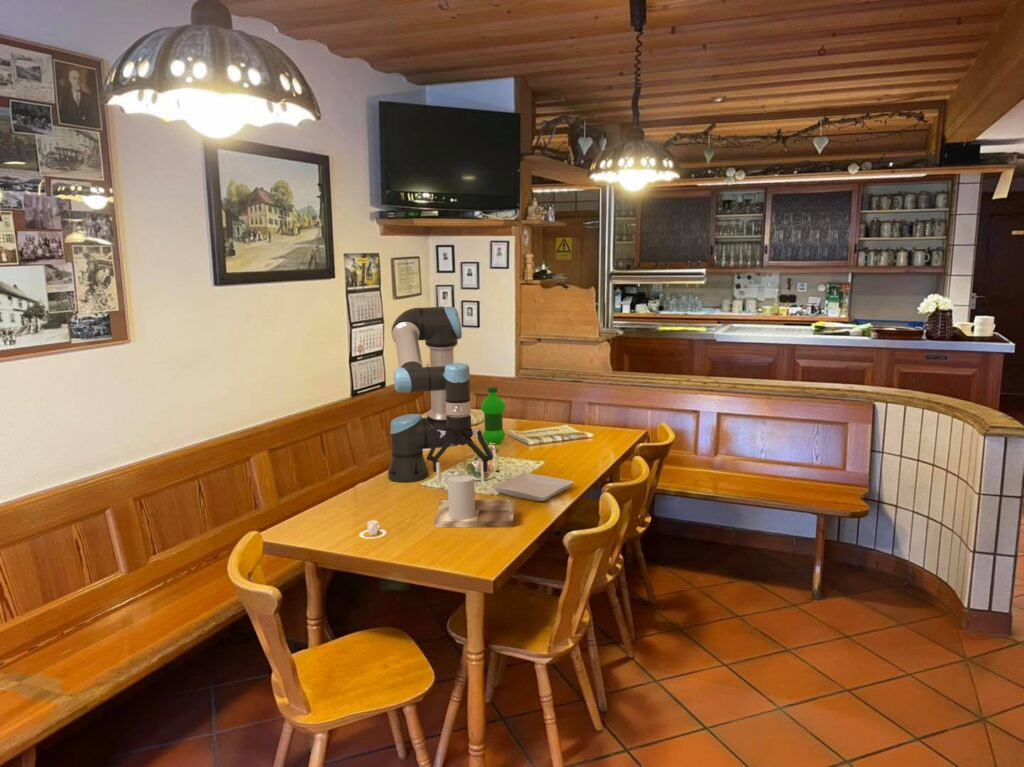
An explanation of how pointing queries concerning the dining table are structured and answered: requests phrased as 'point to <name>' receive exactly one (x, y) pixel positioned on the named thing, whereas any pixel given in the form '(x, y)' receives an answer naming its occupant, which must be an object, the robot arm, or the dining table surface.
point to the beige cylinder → (461, 497)
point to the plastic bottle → (493, 417)
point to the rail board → (479, 515)
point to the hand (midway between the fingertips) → (460, 482)
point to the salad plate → (533, 486)
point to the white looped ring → (372, 530)
